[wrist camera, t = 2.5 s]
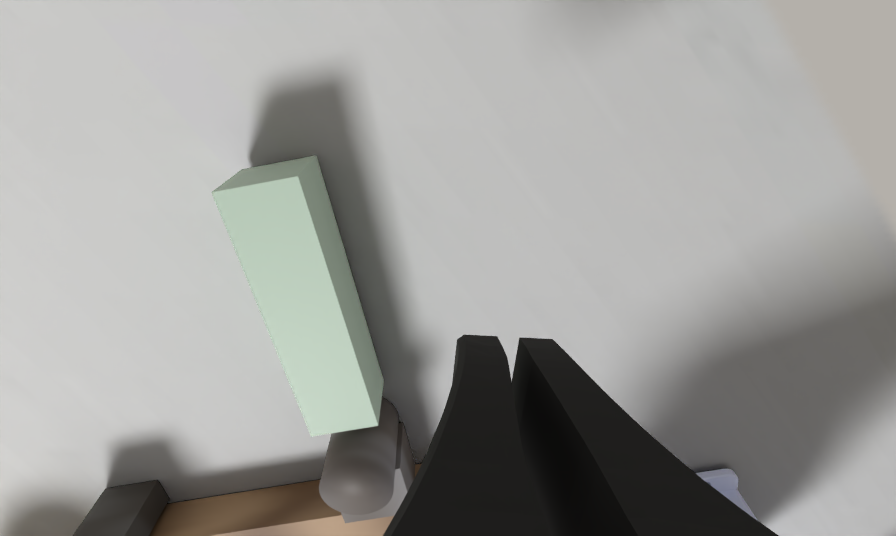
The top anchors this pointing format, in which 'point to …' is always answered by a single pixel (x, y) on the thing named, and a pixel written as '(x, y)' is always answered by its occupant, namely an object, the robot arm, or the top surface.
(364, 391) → the pale green bar
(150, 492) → the stool seat
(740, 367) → the top surface
